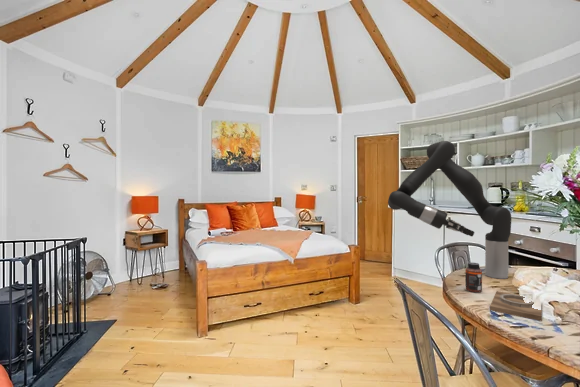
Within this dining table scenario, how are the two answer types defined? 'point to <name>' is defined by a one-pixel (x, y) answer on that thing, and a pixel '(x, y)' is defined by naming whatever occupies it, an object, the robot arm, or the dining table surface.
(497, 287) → the dining table surface
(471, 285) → the supplement bottle
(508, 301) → the walnut board
